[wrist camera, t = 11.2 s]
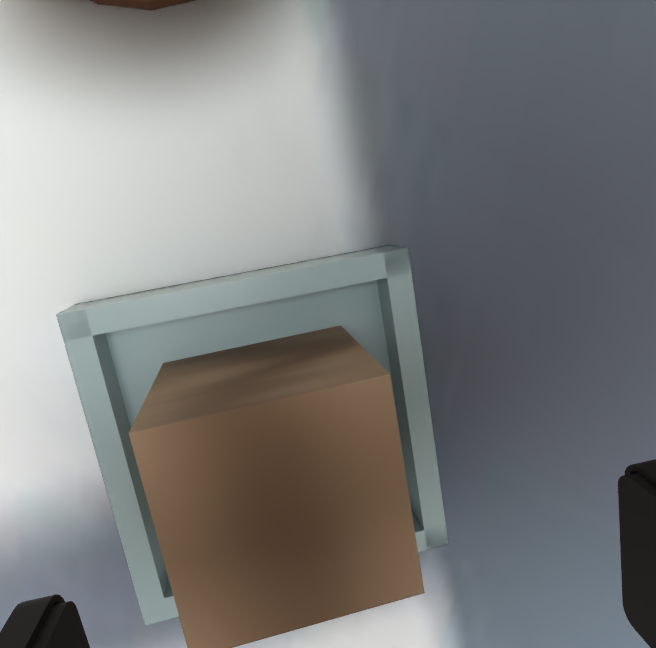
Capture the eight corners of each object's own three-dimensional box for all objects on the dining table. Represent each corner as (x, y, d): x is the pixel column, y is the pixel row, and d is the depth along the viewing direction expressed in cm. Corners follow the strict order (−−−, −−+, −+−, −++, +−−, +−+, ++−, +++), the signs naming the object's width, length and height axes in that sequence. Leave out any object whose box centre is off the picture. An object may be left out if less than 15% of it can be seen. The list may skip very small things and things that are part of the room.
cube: (340, 325, 18) (390, 374, 13) (368, 483, 20) (424, 592, 14) (163, 362, 18) (128, 433, 12) (204, 524, 19) (191, 659, 13)
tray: (389, 245, 19) (407, 247, 17) (428, 514, 21) (448, 544, 19) (76, 304, 17) (56, 314, 15) (154, 585, 20) (145, 625, 18)
